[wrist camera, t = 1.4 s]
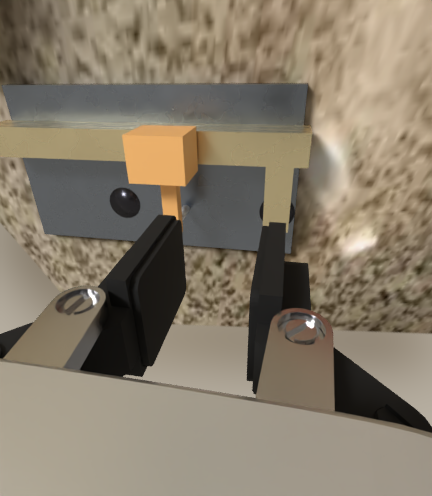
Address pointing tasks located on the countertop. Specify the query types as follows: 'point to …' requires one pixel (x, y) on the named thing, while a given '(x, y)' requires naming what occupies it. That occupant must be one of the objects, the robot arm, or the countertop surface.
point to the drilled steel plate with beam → (149, 196)
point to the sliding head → (162, 161)
